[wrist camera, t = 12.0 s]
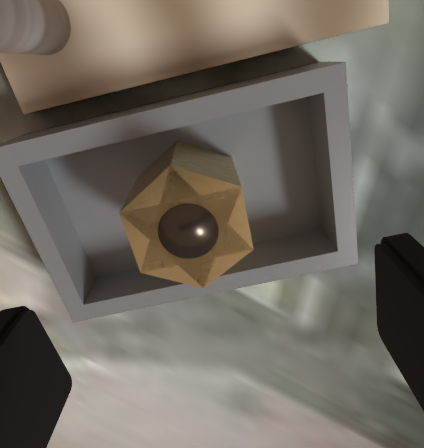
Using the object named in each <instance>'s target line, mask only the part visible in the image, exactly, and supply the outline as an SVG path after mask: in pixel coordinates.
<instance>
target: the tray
mask: <svg viewBox="0 0 424 448" xmlns="http://www.w3.org/2000/svg"><path fill="white" fill-rule="evenodd" d="M177 140H180V141H183V142H186V143H190V144H193V145H196V146H199V147H202V148H206V149H209V150H212V151H215V152H218V153H222V154H225V155H228V156H231V157H232V159H233V162H234V165H235V168H236V171H237V174H238V177H239V180H240V183H241V186H242V191H243V196H244V202H245V207H246V212H247V217H248V223H249V228H250V233H251V238H252V244H253V249H254V250H253V251H251V252H250V253H249V254H247V255H246V256H245V257H244V258H242V259H241V260H240V261H238V262H237V263H236V264H235V265H233V266H232V267H231V268H229V269H228V270H227V271H226V272H224V273H223V274H222V275H220V276H219V277H218V278H217V279H215V280H214V281H213V282H211V283H210V284H209V285H208V286H206V287H205V288H200V287H196V286H192V285H188V284H184V283H180V282H176V281H172V280H168V279H164V278H160V277H156V276H152V275H148V274H144V273H140V270H139V267H138V265H137V262H136V259H135V256H134V253H133V251H132V248H131V245H130V242H129V239H128V237H127V234H126V231H125V228H124V225H123V222H122V220H121V217H120V214H119V212H120V210H121V209H122V207H123V205H124V203H125V201H126V199H127V197H128V195H129V194H130V192H131V190H132V188H133V186H134V184H135V182H136V181H137V179H138V177H139V176H140V175H141V174H142V173H143V172H144V171H145V170H146V169H147V168H149V167H150V166H151V165H152V164H153V163H154V162H155V161H156V160H157V159H158V158H159V157H160V156H161V155H162V154H163V153H164V152H165V151H166V150H167V149H168V148H169V147H171V146H172V145H173V144H174V143H175V142H176V141H177ZM0 177H1V179H2V181H3V183H4V185H5V187H6V189H7V191H8V193H9V195H10V197H11V199H12V201H13V203H14V205H15V207H16V209H17V211H18V213H19V215H20V217H21V219H22V221H23V223H24V225H25V227H26V229H27V231H28V233H29V235H30V237H31V239H32V241H33V243H34V245H35V247H36V249H37V251H38V253H39V255H40V257H41V259H42V261H43V263H44V265H45V267H46V269H47V271H48V273H49V275H50V277H51V279H52V281H53V283H54V285H55V287H56V289H57V291H58V293H59V295H60V297H61V299H62V301H63V303H64V305H65V307H66V309H67V311H68V313H69V315H70V317H71V319H72V321H73V322H78V321H82V320H87V319H92V318H97V317H102V316H107V315H111V314H116V313H121V312H126V311H131V310H135V309H140V308H145V307H150V306H155V305H160V304H164V303H169V302H174V301H179V300H184V299H189V298H193V297H198V296H203V295H208V294H213V293H218V292H222V291H227V290H232V289H237V288H242V287H247V286H251V285H256V284H261V283H266V282H271V281H276V280H280V279H285V278H290V277H295V276H300V275H305V274H309V273H314V272H319V271H324V270H329V269H333V268H338V267H343V266H348V265H353V264H358V253H357V237H356V221H355V205H354V189H353V173H352V157H351V141H350V125H349V109H348V93H347V77H346V62H317V63H313V64H309V65H305V66H301V67H297V68H293V69H289V70H285V71H281V72H277V73H273V74H269V75H265V76H261V77H257V78H253V79H248V80H244V81H240V82H236V83H232V84H228V85H224V86H220V87H216V88H212V89H208V90H204V91H200V92H196V93H192V94H188V95H184V96H179V97H175V98H171V99H167V100H163V101H159V102H155V103H151V104H147V105H143V106H139V107H135V108H131V109H127V110H123V111H119V112H115V113H110V114H106V115H102V116H98V117H94V118H90V119H86V120H82V121H78V122H74V123H70V124H66V125H62V126H58V127H54V128H50V129H46V130H42V131H37V132H33V133H29V134H25V135H22V136H19V137H17V138H15V139H12V140H10V141H7V142H5V143H3V144H0Z"/></svg>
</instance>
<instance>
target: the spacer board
mask: <svg viewBox="0 0 424 448" xmlns="http://www.w3.org/2000/svg"><path fill="white" fill-rule="evenodd" d="M386 23H389V6H388V0H0V62H1V64H2V67H3V69H4V71H5V74H6V76H7V78H8V80H9V83H10V85H11V87H12V90H13V92H14V94H15V96H16V99H17V101H18V103H19V106H20V108H21V110H22V112H23V114H27V113H31V112H35V111H39V110H43V109H47V108H51V107H55V106H59V105H63V104H67V103H71V102H75V101H79V100H83V99H87V98H91V97H95V96H99V95H103V94H107V93H111V92H115V91H119V90H123V89H127V88H131V87H135V86H139V85H143V84H147V83H151V82H155V81H159V80H163V79H167V78H171V77H175V76H179V75H183V74H187V73H191V72H195V71H199V70H203V69H207V68H211V67H215V66H219V65H223V64H227V63H231V62H235V61H239V60H243V59H247V58H251V57H255V56H259V55H263V54H267V53H271V52H275V51H279V50H283V49H287V48H291V47H295V46H299V45H302V44H306V43H310V42H314V41H318V40H322V39H326V38H330V37H334V36H338V35H342V34H346V33H350V32H354V31H358V30H362V29H366V28H370V27H374V26H378V25H382V24H386Z"/></svg>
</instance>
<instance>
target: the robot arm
mask: <svg viewBox="0 0 424 448" xmlns="http://www.w3.org/2000/svg"><path fill="white" fill-rule="evenodd" d="M375 276H376V305H377V327H378V331H379V335H380V337H381V339H382V341H383V343H384V344H385V346H386V348H387V350H388V351H389V353H390V355H391V356H392V358H393V360H394V361H395V363H396V365H397V367H398V368H399V370H400V372H401V373H402V375H403V377H404V378H405V380H406V382H407V384H408V385H409V387H410V389H411V390H412V392H413V394H414V396H415V397H416V399H417V401H418V402H419V404H420V406H421V407H422V409H423V411H424V247H423V246H422V245H421V244H420V243H418V242H417V241H416V240H415V239H414V238H413V237H412V236H411V235H410V234H408V233H403V234H398V235H393V236H388V237H383V238H382V240H381V244H376V245H375ZM71 387H72V380H71V376H70V374H69V372H68V371H67V369H66V367H65V365H64V363H63V362H62V360H61V358H60V356H59V355H58V353H57V351H56V349H55V347H54V346H53V344H52V342H51V340H50V338H49V337H48V335H47V333H46V331H45V330H44V328H43V326H42V324H41V322H40V321H39V319H38V317H37V315H36V314H35V312H34V311H32V310H29V309H28V308H27V307H25V306H20V307H15V308H10V309H5V310H2V311H1V312H0V448H46V447H47V445H48V442H49V440H50V438H51V435H52V433H53V431H54V428H55V426H56V424H57V421H58V419H59V417H60V414H61V412H62V409H63V407H64V405H65V402H66V400H67V398H68V395H69V393H70V391H71Z"/></svg>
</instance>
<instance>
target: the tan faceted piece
mask: <svg viewBox="0 0 424 448" xmlns="http://www.w3.org/2000/svg"><path fill="white" fill-rule="evenodd" d="M119 214H120V217H121V220H122V222H123V225H124V228H125V231H126V234H127V237H128V239H129V242H130V245H131V248H132V251H133V253H134V256H135V259H136V262H137V265H138V267H139V270H140V273H144V274H148V275H152V276H156V277H160V278H164V279H168V280H172V281H176V282H180V283H184V284H188V285H192V286H196V287H200V288H205V287H206V286H208V285H209V284H210V283H211V282H213V281H214V280H215V279H217V278H218V277H219V276H220V275H222V274H223V273H224V272H226V271H227V270H228V269H229V268H231V267H232V266H233V265H235V264H236V263H237V262H238V261H240V260H241V259H242V258H244V257H245V256H246V255H247V254H249V253H250V252H251V251H253V250H254V249H253V244H252V238H251V233H250V228H249V223H248V217H247V212H246V207H245V202H244V196H243V191H242V186H241V183H240V180H239V177H238V174H237V171H236V168H235V165H234V162H233V159H232V157H231V156H228V155H225V154H222V153H218V152H215V151H212V150H209V149H206V148H202V147H199V146H196V145H193V144H190V143H186V142H183V141H180V140H177V141H176V142H175V143H174V144H173V145H172V146H171V147H169V148H168V149H167V150H166V151H165V152H164V153H163V154H162V155H161V156H160V157H159V158H158V159H157V160H156V161H155V162H154V163H153V164H152V165H151V166H150V167H149V168H147V169H146V170H145V171H144V172H143V173H142V174H141V175H140V176H139V177H138V179H137V181H136V182H135V184H134V186H133V188H132V190H131V192H130V194H129V195H128V197H127V199H126V201H125V203H124V205H123V207H122V209H121V210H120V212H119Z"/></svg>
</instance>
